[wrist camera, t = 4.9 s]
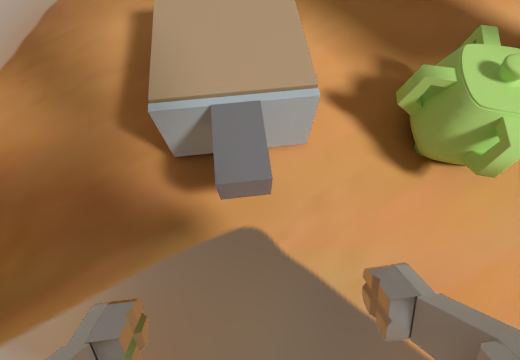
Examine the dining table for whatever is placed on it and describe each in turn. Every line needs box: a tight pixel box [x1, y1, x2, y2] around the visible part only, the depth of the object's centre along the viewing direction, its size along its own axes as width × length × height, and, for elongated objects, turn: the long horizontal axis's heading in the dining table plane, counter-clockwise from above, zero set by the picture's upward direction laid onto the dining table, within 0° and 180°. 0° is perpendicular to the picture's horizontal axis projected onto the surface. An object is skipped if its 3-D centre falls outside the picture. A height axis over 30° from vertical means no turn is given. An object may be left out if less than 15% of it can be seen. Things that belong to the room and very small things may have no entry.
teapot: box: [396, 25, 520, 178], centre depth 26 cm, size 12×12×10 cm
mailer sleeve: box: [148, 0, 318, 103], centre depth 29 cm, size 18×14×8 cm
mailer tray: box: [148, 88, 321, 200], centre depth 27 cm, size 25×14×8 cm, turn 7°
